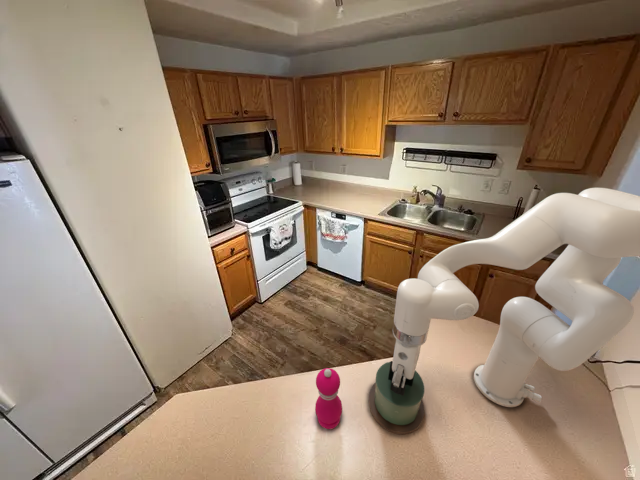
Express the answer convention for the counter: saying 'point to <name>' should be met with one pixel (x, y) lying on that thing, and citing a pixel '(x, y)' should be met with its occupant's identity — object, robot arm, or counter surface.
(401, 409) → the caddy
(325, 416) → the pepper mill
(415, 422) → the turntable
